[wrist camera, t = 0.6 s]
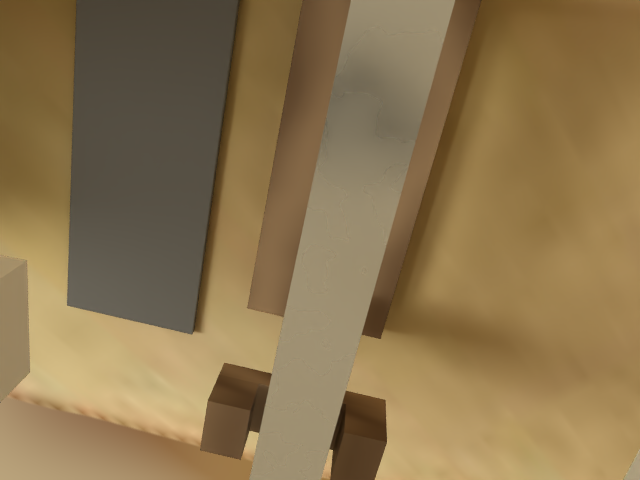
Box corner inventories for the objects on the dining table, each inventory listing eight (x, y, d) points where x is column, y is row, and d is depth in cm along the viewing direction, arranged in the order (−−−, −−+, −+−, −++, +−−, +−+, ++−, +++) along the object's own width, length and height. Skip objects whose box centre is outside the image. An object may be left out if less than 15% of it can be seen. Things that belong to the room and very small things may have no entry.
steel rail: (258, 455, 28) (240, 520, 24) (396, -189, 18) (403, -247, 14) (313, 468, 28) (305, 535, 24) (486, -169, 17) (517, -221, 14)
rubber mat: (70, 302, 42) (67, 305, 42) (88, -231, 29) (83, -235, 29) (194, 331, 42) (192, 334, 42) (266, -191, 29) (264, -194, 29)
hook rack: (251, 298, 41) (182, 454, 26) (322, -91, 31) (276, -199, 16) (380, 328, 41) (384, 501, 26) (492, -53, 31) (603, -126, 16)
